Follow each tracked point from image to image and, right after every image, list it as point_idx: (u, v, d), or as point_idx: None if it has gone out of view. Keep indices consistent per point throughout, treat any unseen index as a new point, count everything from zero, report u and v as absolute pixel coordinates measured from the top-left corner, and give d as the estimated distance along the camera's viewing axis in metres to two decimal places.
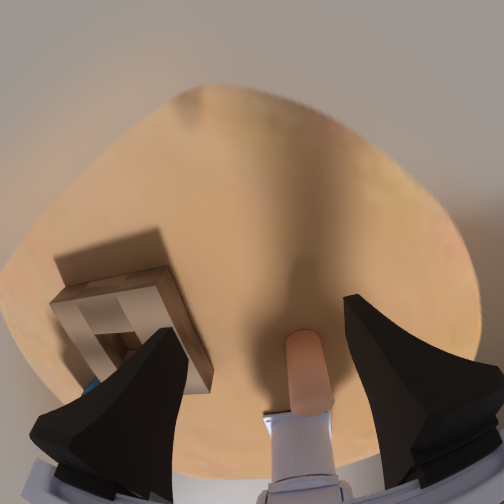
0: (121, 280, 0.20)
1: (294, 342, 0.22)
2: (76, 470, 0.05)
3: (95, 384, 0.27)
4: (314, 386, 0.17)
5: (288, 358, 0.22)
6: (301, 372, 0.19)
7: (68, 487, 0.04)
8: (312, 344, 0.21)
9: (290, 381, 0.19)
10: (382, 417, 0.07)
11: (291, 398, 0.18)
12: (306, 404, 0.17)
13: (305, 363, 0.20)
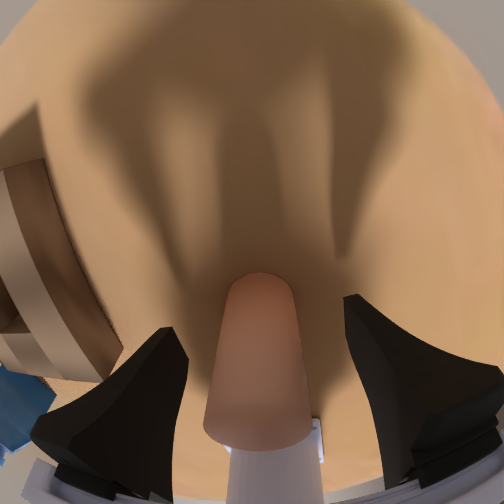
0: None
1: (236, 292, 0.12)
2: (76, 470, 0.05)
3: None
4: (258, 383, 0.07)
5: (222, 323, 0.11)
6: (235, 349, 0.08)
7: (68, 487, 0.04)
8: (270, 296, 0.11)
9: (213, 369, 0.09)
10: (382, 417, 0.07)
11: (206, 408, 0.07)
12: (241, 427, 0.07)
13: (247, 328, 0.09)
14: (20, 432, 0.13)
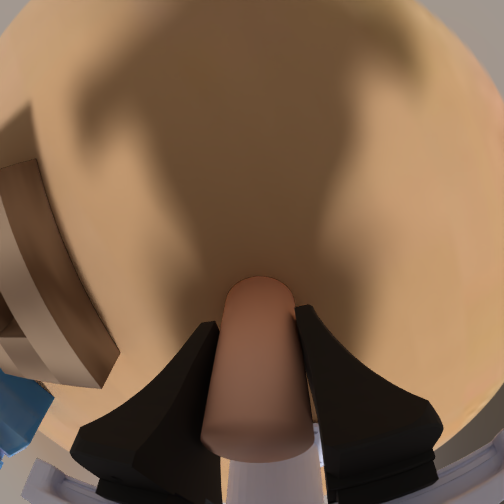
0: None
1: (235, 298, 0.11)
2: (125, 485, 0.05)
3: None
4: (257, 397, 0.06)
5: (220, 330, 0.10)
6: (234, 359, 0.08)
7: (68, 487, 0.04)
8: (270, 302, 0.10)
9: (211, 379, 0.08)
10: None
11: (203, 421, 0.07)
12: (240, 440, 0.06)
13: (246, 337, 0.09)
14: (18, 435, 0.13)
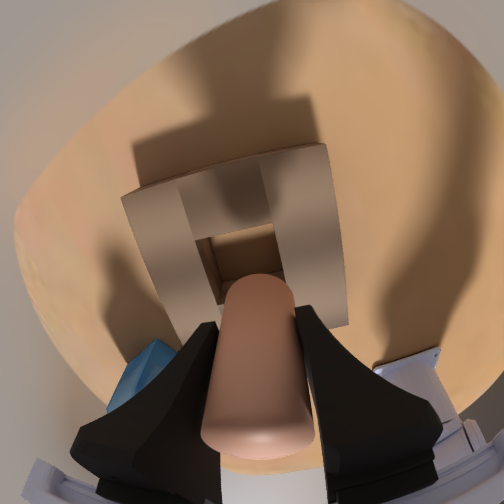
0: (252, 156, 0.16)
1: (234, 296, 0.11)
2: (124, 485, 0.05)
3: (154, 347, 0.22)
4: (255, 392, 0.06)
5: (220, 328, 0.11)
6: (232, 356, 0.08)
7: (68, 487, 0.04)
8: (268, 298, 0.10)
9: None
10: None
11: (203, 418, 0.07)
12: (240, 436, 0.06)
13: (244, 334, 0.09)
14: None
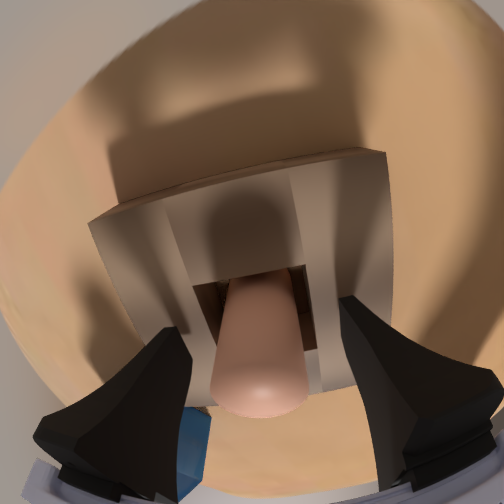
0: (275, 164, 0.11)
1: None
2: (80, 472, 0.05)
3: None
4: (257, 346, 0.08)
5: None
6: (237, 320, 0.10)
7: (68, 487, 0.04)
8: (268, 275, 0.12)
9: (218, 340, 0.10)
10: (376, 419, 0.07)
11: (212, 374, 0.08)
12: (244, 390, 0.08)
13: (247, 302, 0.10)
14: (187, 476, 0.14)
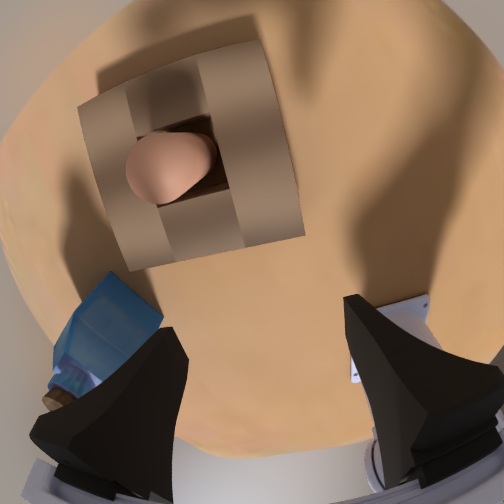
0: None
1: None
2: (76, 470, 0.05)
3: (105, 278, 0.20)
4: None
5: None
6: None
7: (68, 487, 0.04)
8: (191, 132, 0.15)
9: None
10: (382, 417, 0.07)
11: None
12: (147, 165, 0.11)
13: None
14: (127, 357, 0.17)
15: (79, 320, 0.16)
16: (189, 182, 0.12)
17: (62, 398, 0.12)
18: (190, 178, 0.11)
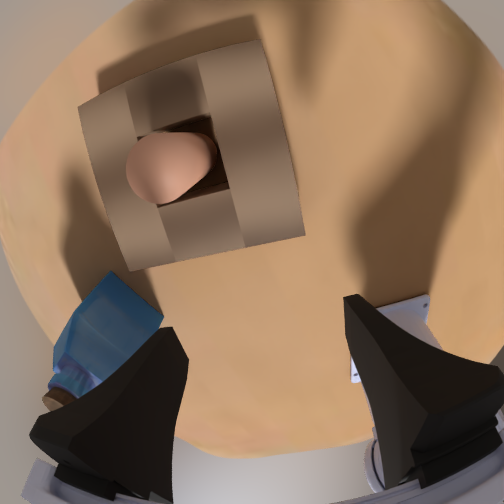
0: None
1: None
2: (76, 470, 0.05)
3: (105, 278, 0.20)
4: None
5: None
6: None
7: (68, 487, 0.04)
8: (191, 132, 0.15)
9: None
10: (382, 417, 0.07)
11: None
12: (147, 165, 0.11)
13: None
14: (127, 357, 0.17)
15: (79, 320, 0.16)
16: (189, 182, 0.12)
17: (62, 398, 0.12)
18: (190, 178, 0.11)
